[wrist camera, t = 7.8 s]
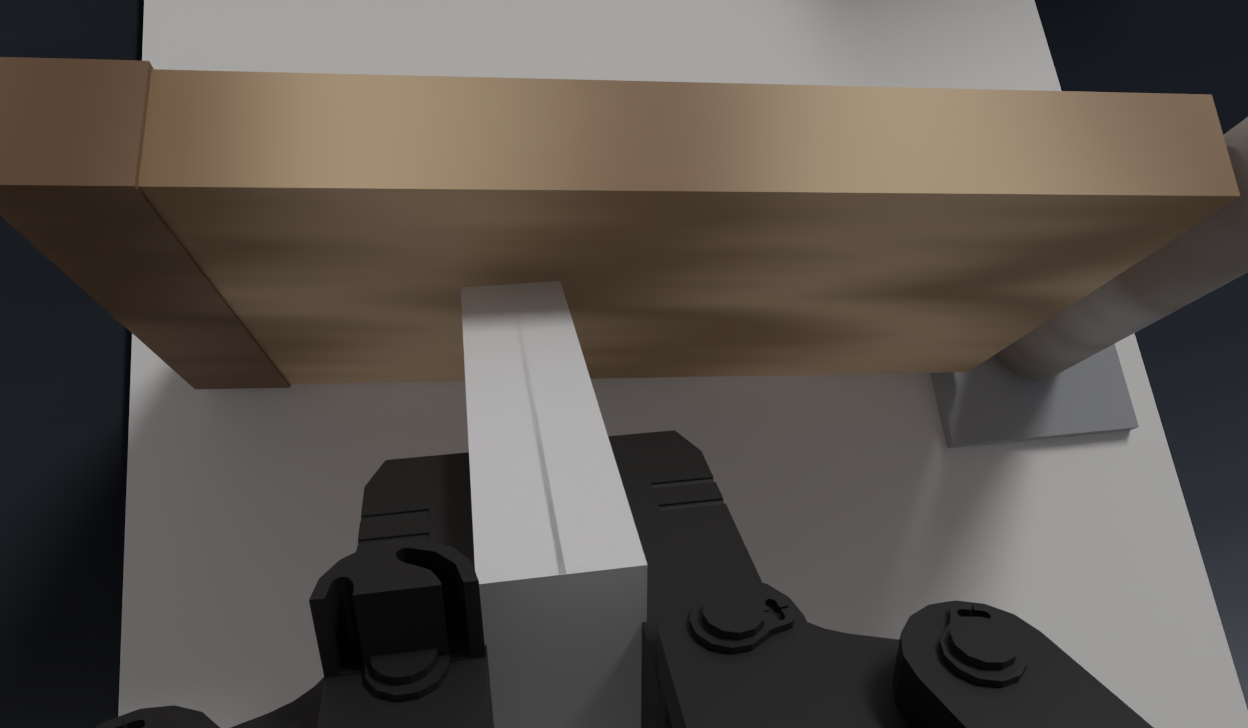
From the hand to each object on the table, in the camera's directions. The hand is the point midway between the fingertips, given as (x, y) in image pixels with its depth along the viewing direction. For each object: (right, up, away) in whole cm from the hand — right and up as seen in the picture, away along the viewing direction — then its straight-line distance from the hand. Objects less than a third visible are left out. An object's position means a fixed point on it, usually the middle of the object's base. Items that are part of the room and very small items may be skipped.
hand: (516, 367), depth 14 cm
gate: (+2, +1, +6) cm, 6 cm away
